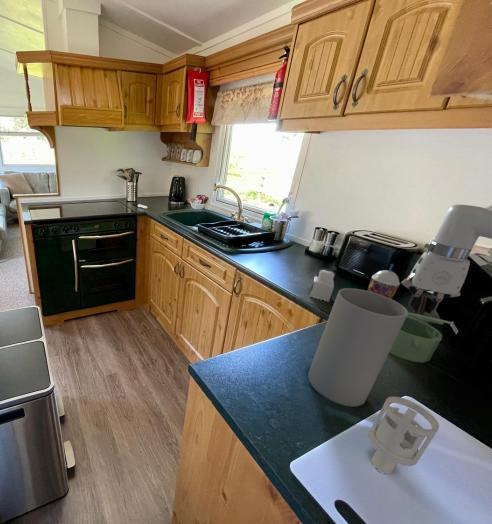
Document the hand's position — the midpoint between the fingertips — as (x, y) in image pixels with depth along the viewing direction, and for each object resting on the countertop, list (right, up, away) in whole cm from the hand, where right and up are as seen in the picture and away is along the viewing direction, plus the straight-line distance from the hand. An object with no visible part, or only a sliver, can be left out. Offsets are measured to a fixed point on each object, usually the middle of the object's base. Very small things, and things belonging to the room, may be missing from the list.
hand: (419, 308), depth 85 cm
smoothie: (+7, -6, +27) cm, 28 cm away
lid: (-1, -2, 0) cm, 2 cm away
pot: (-1, -13, +5) cm, 14 cm away
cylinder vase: (-33, -18, -12) cm, 40 cm away
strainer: (-37, -25, -30) cm, 54 cm away
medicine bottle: (-8, -1, +36) cm, 37 cm away
